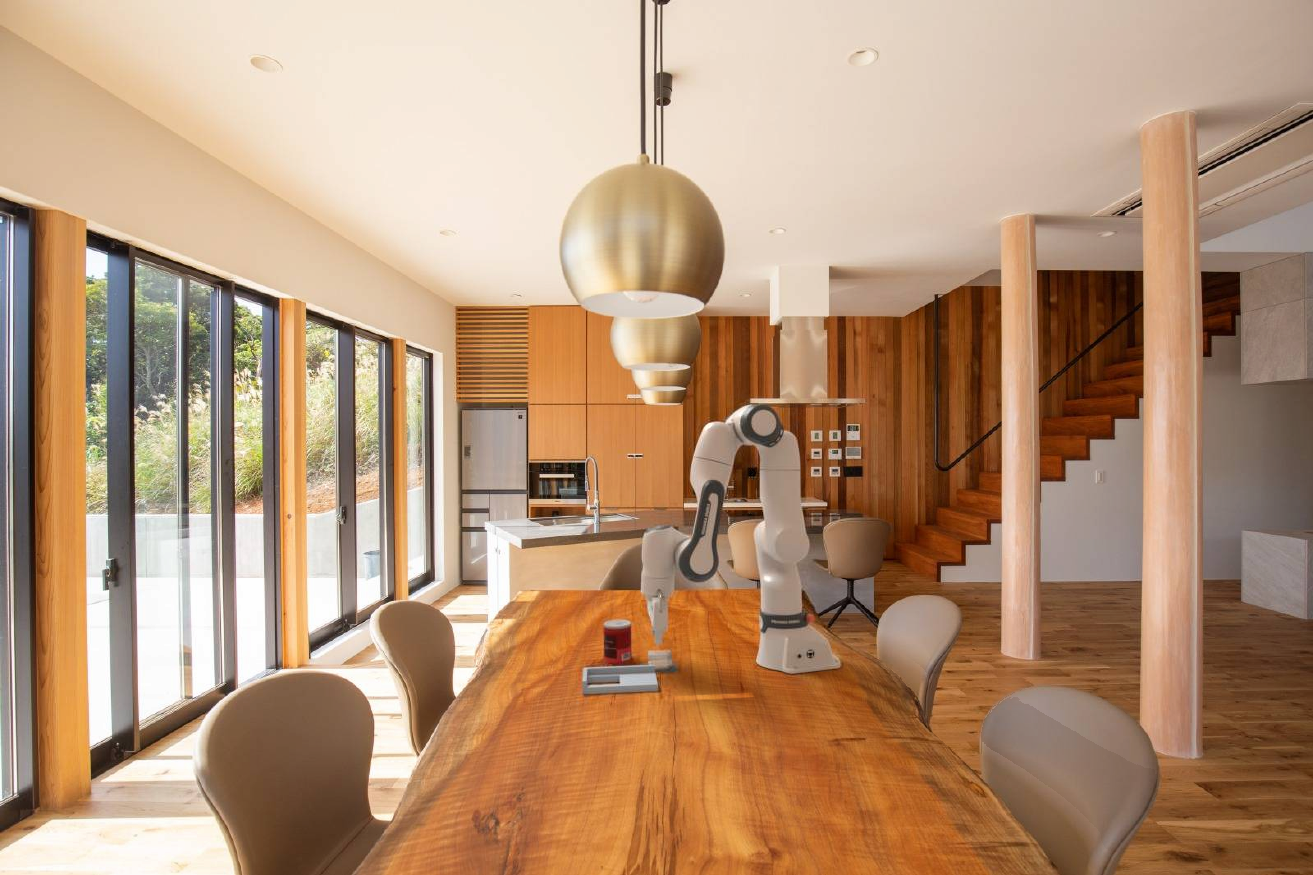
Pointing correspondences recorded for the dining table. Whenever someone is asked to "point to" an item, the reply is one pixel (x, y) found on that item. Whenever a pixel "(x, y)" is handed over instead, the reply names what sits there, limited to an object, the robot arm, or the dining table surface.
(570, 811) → the dining table surface
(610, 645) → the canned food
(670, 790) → the dining table surface
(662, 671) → the pad
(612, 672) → the grey slotted tray
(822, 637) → the robot arm
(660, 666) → the white boxy piece
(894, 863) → the dining table surface
